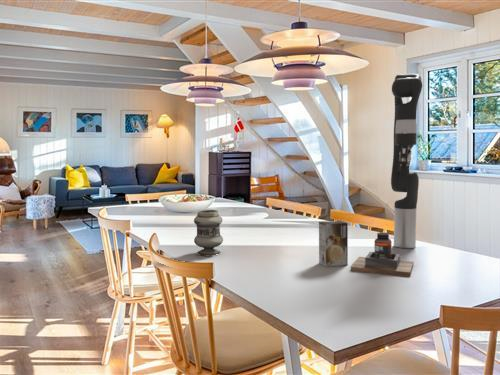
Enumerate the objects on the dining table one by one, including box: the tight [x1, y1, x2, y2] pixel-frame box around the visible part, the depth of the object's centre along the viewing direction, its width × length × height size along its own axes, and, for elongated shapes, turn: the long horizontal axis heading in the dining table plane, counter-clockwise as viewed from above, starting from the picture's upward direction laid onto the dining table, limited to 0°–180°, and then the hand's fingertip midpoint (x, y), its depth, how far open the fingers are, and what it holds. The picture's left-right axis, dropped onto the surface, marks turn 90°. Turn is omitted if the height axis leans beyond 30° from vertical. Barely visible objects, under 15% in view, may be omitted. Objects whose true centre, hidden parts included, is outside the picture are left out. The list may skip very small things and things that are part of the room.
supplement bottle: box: [374, 232, 393, 259], centre depth 166 cm, size 6×6×11 cm
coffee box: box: [318, 220, 349, 268], centre depth 172 cm, size 9×6×16 cm
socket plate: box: [350, 251, 414, 277], centre depth 166 cm, size 16×20×4 cm
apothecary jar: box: [193, 209, 224, 256], centre depth 191 cm, size 12×12×18 cm
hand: (405, 175), depth 172 cm, fingers open, 8 cm apart
